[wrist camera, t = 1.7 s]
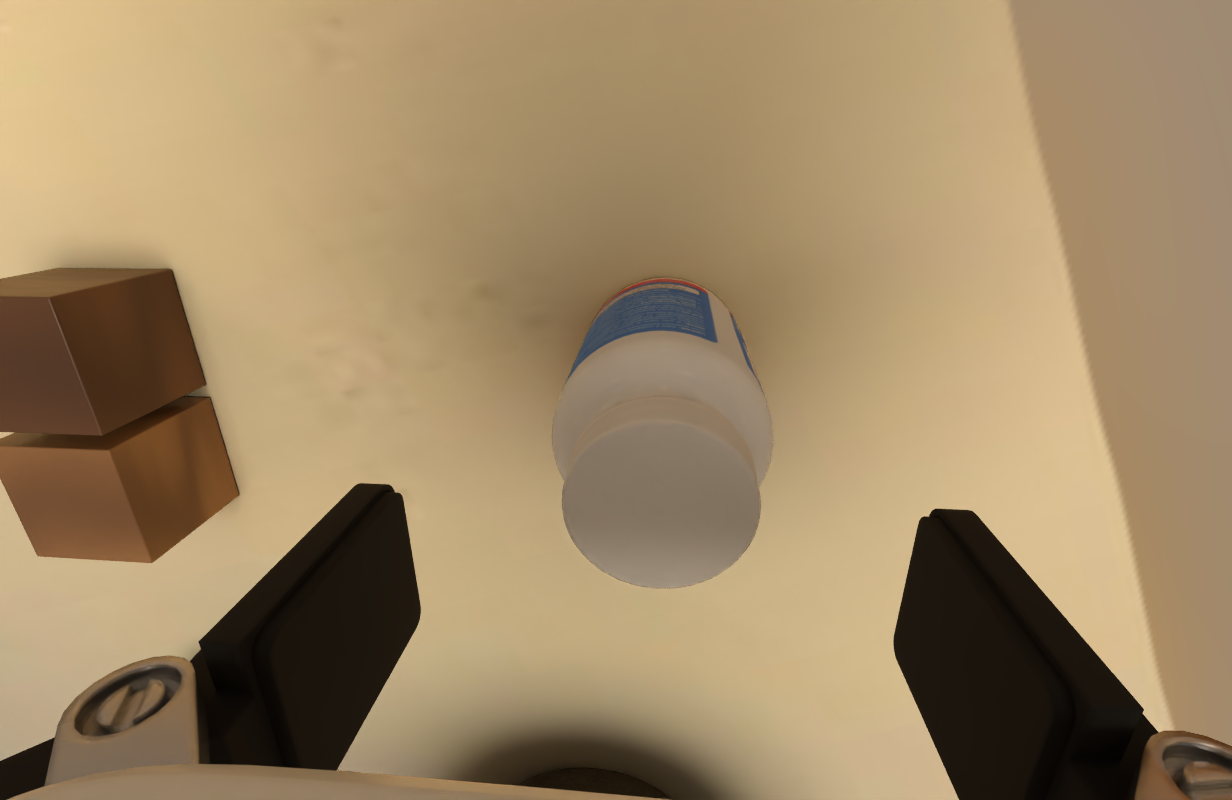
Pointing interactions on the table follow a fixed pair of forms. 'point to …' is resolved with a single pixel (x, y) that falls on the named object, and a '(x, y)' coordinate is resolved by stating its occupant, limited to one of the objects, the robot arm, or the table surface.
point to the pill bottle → (662, 437)
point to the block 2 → (120, 484)
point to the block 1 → (91, 349)
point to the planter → (594, 783)
